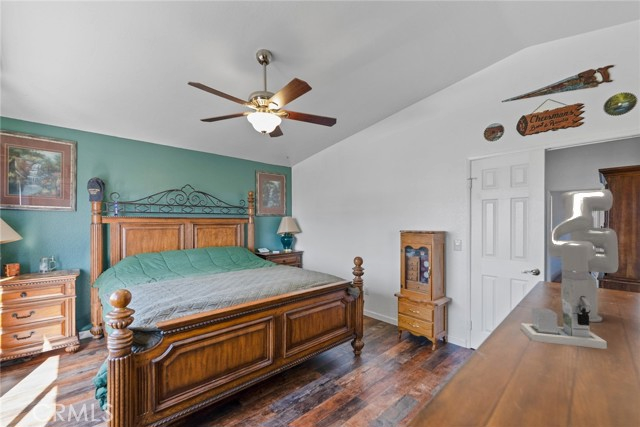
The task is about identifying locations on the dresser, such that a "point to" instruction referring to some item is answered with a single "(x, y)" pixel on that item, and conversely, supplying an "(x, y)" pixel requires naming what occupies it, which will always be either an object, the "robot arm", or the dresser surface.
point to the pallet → (564, 338)
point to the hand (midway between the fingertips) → (575, 320)
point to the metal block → (544, 321)
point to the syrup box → (573, 322)
